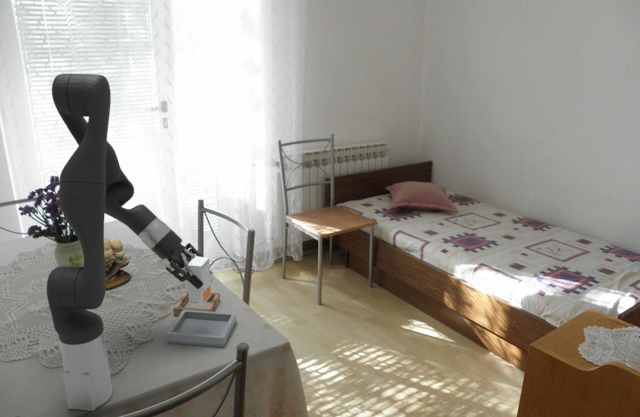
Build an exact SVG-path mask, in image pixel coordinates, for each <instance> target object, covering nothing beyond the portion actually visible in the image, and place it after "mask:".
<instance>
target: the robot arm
mask: <svg viewBox="0 0 640 417" xmlns="http://www.w3.org/2000/svg"><path fill="white" fill-rule="evenodd" d="M110 86H111V85H110V84H109V81H108V78H106V76H104V75H103V74H99V73H97V74H96V73H94V74H93V73H60V74H57V75H56V76H55V77H54V79H53V81H52V85H51V96H52V101H53V104H54V106H55V108H56V111H57V113H58V115H59V116H60V118H61V119H62V121H63V123H64V124H65V126H66V127H67V129H68V131H69V133H70V134H71V136H72V138H73V139H74V140H75V142H76V144H77V145H78V146H77V148H76V150H75V151H74V152H73V153H72V155H71V156H70V158H69V159H68V160H67V162H66V163H65V165H64V166H63V168H62V170H61V172H60V176H59V190H58V193H59V194H58V196H59V197H58V203H59V208H60V211H61V213H62V214H63V216H64V218H65V221H66V222H67V223H68V225H69V227H70V228H71V229H72V230H73V232H74V234H75V236H76V237H77V239H78V242H79V244H80V246H81V249H82V252H83V259H84V266H71V265H70V266H69V265H67V266H63V265H62V266H57V267H54V268H53V269H52V270H51V271H50V273H49V274H48V277H47V281H46V298H47V303H48V307H49V311H50V314H51V319H52V323H53V327H54V330H55V332H56V334H57V335H58V336H57V337H58V340H59V341H58V342H59V346H60V347H59V348H60V353H61V360H62V365H63V370H64V372H63V373H62V380H63V386H64V390H65V395H66V396H65V398H66V402H67V403H66V404H67V407H68V409H70V410H80V411H89V412H94V411H95V410H96V409H97V408H98V407H100V406H102V405H105V404H106V403H107V402H108V401H109V400H110V399H111V397H112V395H113V386H112V378H111V371H110V365H109V364H110V363H109V359H108V358H109V356H108V350H107V344H106V335H105V329H104V322H103V318H102V317H101V316H100V315H99V314H97V313H95V312H93V311H90V310H97V309H99V308H100V307H101V306H102V304H103V302H104V300H105V295H106V291H105V289H106V274H105V255H104V237H105V236H104V235H105V215H107V216H110V217H111V218H113V219H115V220H116V221H119V222H120V223H122V224H124V225H125V226H127V227H128V228H129V229H130V230H131V232H133V233H134V234H135V235H136V236H137V237H138V238H139V239H140V240H141V242H143V244H144V245H146V246H147V247H148V248H149V249H150V251H152V252H153V253H154V254H155V255H156V256H157V257H159V258H160V259H161V260H165V259H166V260H167V261H168V263H169V264H167V265H166V266H165V270H166V271H167V272H169V274H171V275H173V276H174V278H176V279H177V280H178V281H180V283H184V282H185V281H186V282H188V281H189V282H190V283H191V284H192V285H193V286H194V287H196V288H197V289H199V288H201V287H202V286H203V282H202V281H201V280H200V279H199V278H198V277H197V276H195V275H193V273H192V271H191V270H190V269H189V262H190V261H191V260H192V259H194V258H195V257H196V256H199V257H204V256H203V255H202V254H201V253H200V251H198V250H197V249H196V247H194V245H193V244H192V243H191V242H188V243H187V244H186V245H183V244H182V243H183V239H182V238H181V236H179V235H178V234H177V233H176V232H175V231H174V230H173V229H172V228H171V227H169V225H167V224H166V223H165V222H164V221H162V219H160V218H159V217H157V215H156V214H154V212H152V211H151V210H150V209H149V208H148V207H147V206H146V205H144V204H138V205H135V206H134V207H132V208H130V209H129V208H125V207H123V206H124V205H126V203H129V201H130V200H131V199H132V198H133V197H134V194H135V187H134V185H133V183H132V182H131V181H130V180H129V179H128V177H127V176H126V174H125V173H124V172H123V170H122V169H121V165H120V163H119V159H118V156H117V153H116V151H115V149H114V147H113V146H112V145H111V143H109V141H108V140H107V139H108V132H109V121H110V112H111V102H112V101H111V94H112V93H111V87H110ZM85 117H86V118H87V117H88V120H86V118H85ZM187 272H188V273H187ZM211 274H212V271H211V270H210V275H211Z"/></svg>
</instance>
